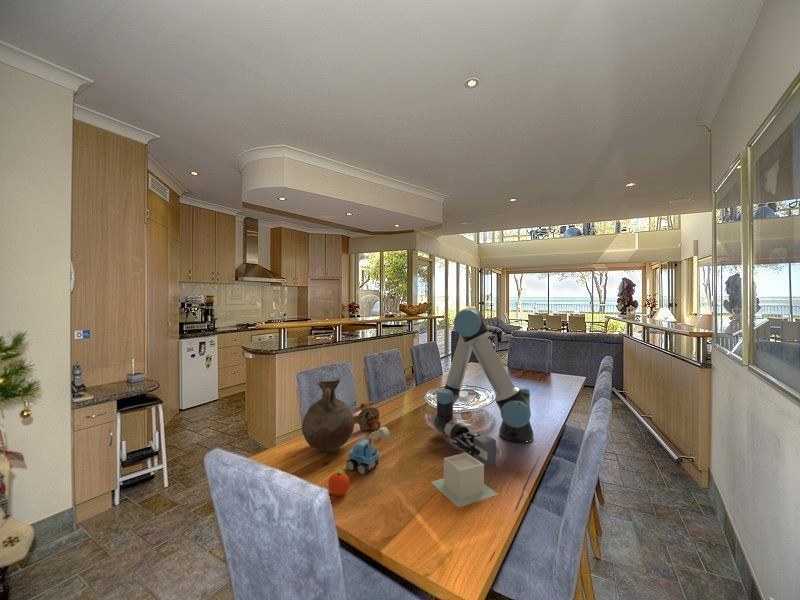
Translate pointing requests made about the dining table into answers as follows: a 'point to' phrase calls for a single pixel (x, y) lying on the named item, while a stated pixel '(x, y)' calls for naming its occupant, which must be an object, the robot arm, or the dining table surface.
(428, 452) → the dining table surface
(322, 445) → the jug
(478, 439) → the charcoal brick
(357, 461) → the toy excavator
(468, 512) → the dining table surface
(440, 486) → the green baseplate
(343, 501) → the dining table surface
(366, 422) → the toy helicopter
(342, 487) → the clementine
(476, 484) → the cream base brick
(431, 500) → the dining table surface
